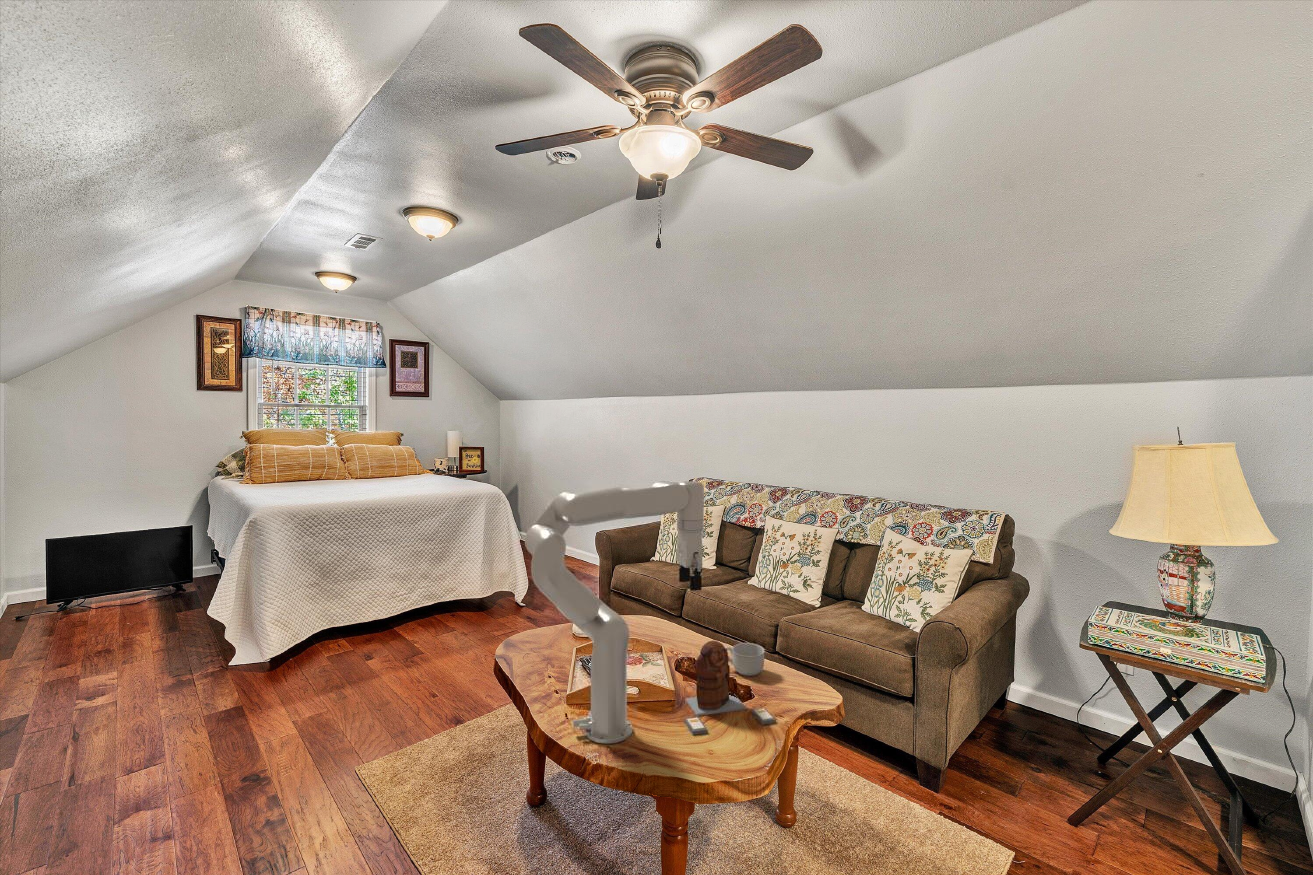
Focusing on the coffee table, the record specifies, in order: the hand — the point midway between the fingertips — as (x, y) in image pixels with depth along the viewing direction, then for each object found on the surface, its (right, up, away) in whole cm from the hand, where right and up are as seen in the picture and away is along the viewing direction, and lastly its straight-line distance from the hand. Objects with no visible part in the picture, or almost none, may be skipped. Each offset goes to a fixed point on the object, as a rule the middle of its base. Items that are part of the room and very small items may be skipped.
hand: (689, 585), depth 164 cm
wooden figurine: (+7, -36, +5) cm, 37 cm away
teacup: (+20, -36, +30) cm, 51 cm away
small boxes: (+11, -36, -5) cm, 38 cm away
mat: (+8, -36, +5) cm, 37 cm away
